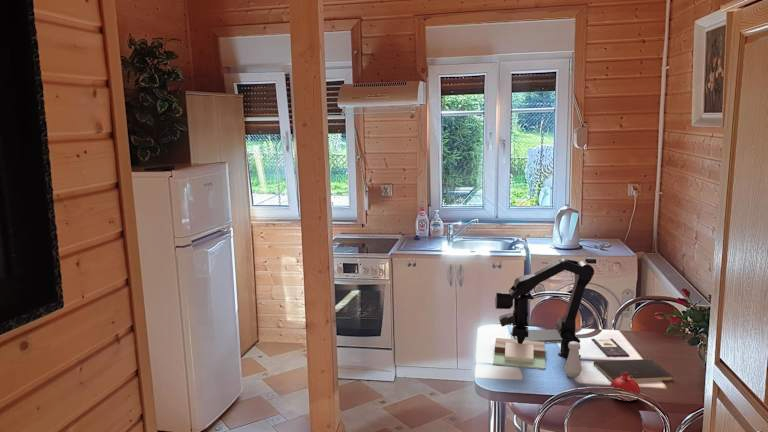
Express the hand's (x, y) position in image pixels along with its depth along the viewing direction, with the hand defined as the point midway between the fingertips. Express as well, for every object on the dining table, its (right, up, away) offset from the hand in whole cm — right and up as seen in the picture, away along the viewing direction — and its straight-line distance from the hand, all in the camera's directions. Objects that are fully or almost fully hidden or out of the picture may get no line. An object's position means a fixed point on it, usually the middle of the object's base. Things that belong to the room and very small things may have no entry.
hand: (519, 345), depth 241 cm
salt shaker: (+16, -7, -18) cm, 25 cm away
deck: (+1, -3, +4) cm, 6 cm away
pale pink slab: (-1, -3, -3) cm, 5 cm away
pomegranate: (+28, -10, -36) cm, 47 cm away
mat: (-1, -5, -5) cm, 7 cm away
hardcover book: (+39, -7, -16) cm, 43 cm away
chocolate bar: (+39, -3, +7) cm, 40 cm away
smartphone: (+15, -1, +20) cm, 25 cm away
